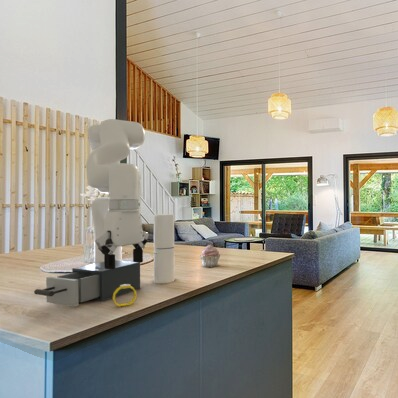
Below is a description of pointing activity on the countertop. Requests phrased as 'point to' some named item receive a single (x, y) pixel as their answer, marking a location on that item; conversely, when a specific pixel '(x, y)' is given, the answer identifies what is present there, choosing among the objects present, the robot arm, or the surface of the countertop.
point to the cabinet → (114, 277)
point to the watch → (124, 288)
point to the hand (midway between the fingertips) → (124, 265)
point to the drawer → (71, 288)
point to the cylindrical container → (163, 248)
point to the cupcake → (210, 256)
